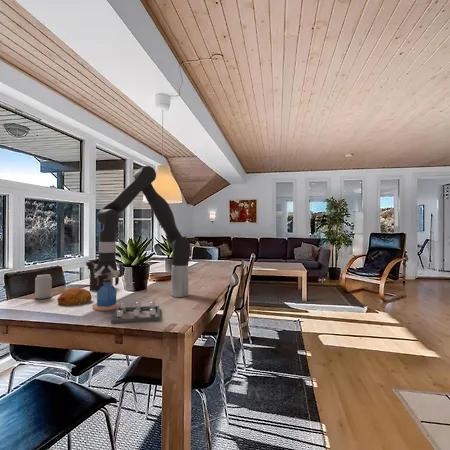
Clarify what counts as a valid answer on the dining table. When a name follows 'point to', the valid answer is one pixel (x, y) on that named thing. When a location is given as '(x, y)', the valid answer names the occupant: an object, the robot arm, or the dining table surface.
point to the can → (43, 286)
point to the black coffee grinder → (100, 278)
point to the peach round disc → (103, 308)
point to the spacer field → (136, 313)
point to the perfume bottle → (106, 294)
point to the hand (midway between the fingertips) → (106, 285)
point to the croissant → (74, 296)
